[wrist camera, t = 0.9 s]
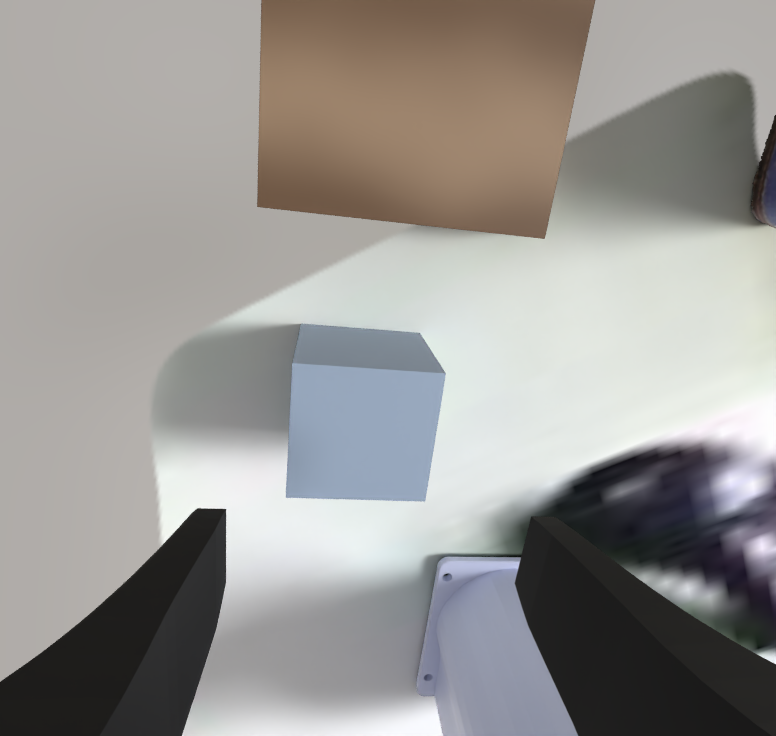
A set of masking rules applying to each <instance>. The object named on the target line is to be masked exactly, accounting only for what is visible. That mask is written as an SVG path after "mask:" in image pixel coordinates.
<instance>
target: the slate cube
mask: <svg viewBox="0 0 776 736" xmlns="http://www.w3.org/2000/svg"><path fill="white" fill-rule="evenodd" d="M445 375H446V373H445V372H444V370H443V369H442V367H441V365H440V364H439V362H438V361H437V359H436V358H435V356H434V354H433V353H432V351H431V350H430V348H429V347H428V345H427V344H426V342H425V340H424V339H423V337H422V336H421V334H420V333H412V332H400V331H387V330H374V329H361V328H349V327H336V326H323V325H311V324H301V326H300V331H299V335H298V340H297V345H296V349H295V354H294V358H293V363H292V381H291V402H290V422H289V442H288V463H287V483H286V498H321V499H357V500H393V501H425V499H426V493H427V487H428V480H429V474H430V468H431V462H432V455H433V449H434V443H435V437H436V431H437V424H438V418H439V412H440V406H441V400H442V393H443V387H444V381H445Z"/></svg>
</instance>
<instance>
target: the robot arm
mask: <svg viewBox="0 0 776 736" xmlns="http://www.w3.org/2000/svg"><path fill="white" fill-rule="evenodd" d="M447 573H449V575H447V576H443V575H444V574H447ZM225 584H226V509H200V508H198V509H196V510H195V511H194V512H193V513H192V514H191V515H190V516H189V517H188V518H187V519H186V520H185V521H184V522H183V524H182V525H181V526H180V527H179V528H178V529H177V530H176V531H175V532H174V533H173V535H172V536H171V537H170V538H169V539H168V540H167V541H166V542H165V543H164V544H163V545H162V546H161V547H160V548H159V550H157V552H156V553H154V555H152V556H151V557H150V558H149V559H148V560H147V561H146V562H145V564H143V565H142V567H140V568H139V569H138V570H137V571H136V573H135V574H133V575H132V576H131V577H130V578H129V579H128V580H127V581H126V582H125V583H124V584H123V585H122V586H121V587H120V588H118V589H117V590H116V591H115V592H114V593H113V594H112V595H111V596H109V597H108V598H107V599H106V600H105V601H104V602H103V603H102V604H101V605H100V606H99V607H97V608H96V609H95V610H94V611H93V612H92V613H90V614H89V615H88V616H87V617H86V618H84V619H83V620H82V621H81V622H80V623H79V624H77V625H76V626H75V627H74V628H72V629H71V630H70V631H69V632H67V633H66V634H65V635H64V636H62V637H61V638H60V639H58V640H57V641H56V642H55V643H53V644H52V645H51V646H50V647H48V648H47V649H46V650H44V651H43V652H42V653H40V654H39V655H38V656H36V657H35V658H33V659H32V660H31V661H29V662H28V663H27V664H25V665H24V666H22V667H21V668H19V669H18V670H17V671H15V672H14V673H12V674H11V675H9V676H8V677H6V678H5V679H4V680H2V681H1V682H0V736H182V733H183V730H184V727H185V724H186V721H187V718H188V715H189V712H190V708H191V705H192V702H193V699H194V696H195V693H196V690H197V687H198V684H199V681H200V678H201V675H202V672H203V668H204V665H205V662H206V659H207V656H208V653H209V650H210V647H211V643H212V640H213V637H214V634H215V631H216V627H217V623H218V618H219V613H220V609H221V604H222V599H223V594H224V589H225ZM416 688H417V693H418V694H419V695H421V696H435V700H436V705H437V709H438V714H439V719H440V724H441V728H442V733H443V736H776V664H774V663H772V662H770V661H768V660H766V659H764V658H762V657H761V656H759V655H757V654H755V653H753V652H751V651H750V650H748V649H746V648H744V647H743V646H741V645H739V644H737V643H736V642H734V641H732V640H730V639H729V638H727V637H726V636H724V635H722V634H721V633H719V632H717V631H716V630H714V629H712V628H711V627H709V626H707V625H706V624H704V623H702V622H701V621H699V620H698V619H696V618H694V617H693V616H691V615H690V614H688V613H687V612H685V611H684V610H682V609H681V608H679V607H678V606H676V605H675V604H673V603H672V602H670V601H669V600H667V599H666V598H665V597H663V596H662V595H660V594H659V593H657V592H656V591H654V590H653V589H652V588H650V587H649V586H647V585H646V584H645V583H643V582H642V581H640V580H639V579H638V578H636V577H635V576H634V575H632V574H631V573H629V572H628V571H627V570H625V569H624V568H623V567H621V566H620V565H619V564H617V563H616V562H615V561H614V560H612V559H611V558H610V557H608V556H607V555H606V554H604V553H603V552H602V551H600V550H599V549H598V548H596V547H595V546H594V545H593V544H591V543H590V542H589V541H587V540H586V539H585V538H583V537H582V536H581V535H579V534H578V533H577V532H575V531H574V530H573V529H571V528H570V527H569V526H567V525H566V524H564V523H563V522H562V521H560V520H559V519H557V518H555V517H532V516H531V520H530V524H529V528H528V532H527V536H526V540H525V544H524V548H523V552H522V556H521V557H444V558H442V559H441V560H440V561H439V563H438V565H437V571H436V577H435V582H434V588H433V593H432V599H431V604H430V610H429V616H428V621H427V627H426V632H425V638H424V643H423V649H422V655H421V660H420V666H419V671H418V677H417V682H416Z"/></svg>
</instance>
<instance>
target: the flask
mask: <svg viewBox="0 0 776 736" xmlns="http://www.w3.org/2000/svg"><path fill="white" fill-rule="evenodd" d="M765 144H766V146H765V149H764V152H763V154H762V156H761V159H762V160H761V161H760V162H759V168H758V171H757V172H756V173H757V174H756V175H755V178H754V182H753V184H754V187H753V197H752V200H753V201H751V202H752V203H751V206H752V207H753V208H752V211H751V213H752V214H753V215H754V216H755V217H756V219H757V220H759V221H760V222H762V223H767V224H768V225H769V226H771V227H774V228H776V115H775V116H774V121H773V124H772V129H771V130H770V134H769V136H768V139H767V141H766V143H765Z"/></svg>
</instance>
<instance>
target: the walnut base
mask: <svg viewBox="0 0 776 736" xmlns="http://www.w3.org/2000/svg"><path fill="white" fill-rule="evenodd" d="M594 4H595V0H262V3H261V53H260V54H261V55H260V102H259V103H260V104H259V151H258V202H257V207H263V208H273V209H281V210H290V211H300V212H308V213H317V214H327V215H335V216H344V217H353V218H362V219H371V220H381V221H389V222H398V223H408V224H416V225H425V226H434V227H443V228H452V229H461V230H470V231H479V232H488V233H497V234H506V235H515V236H524V237H533V238H542V239H545V235H546V231H547V226H548V221H549V216H550V212H551V207H552V202H553V198H554V193H555V188H556V183H557V179H558V174H559V169H560V164H561V160H562V155H563V150H564V146H565V141H566V136H567V131H568V127H569V122H570V117H571V113H572V108H573V102H574V98H575V94H576V89H577V84H578V79H579V75H580V70H581V65H582V61H583V56H584V51H585V46H586V42H587V37H588V32H589V27H590V23H591V18H592V13H593V8H594Z"/></svg>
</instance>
